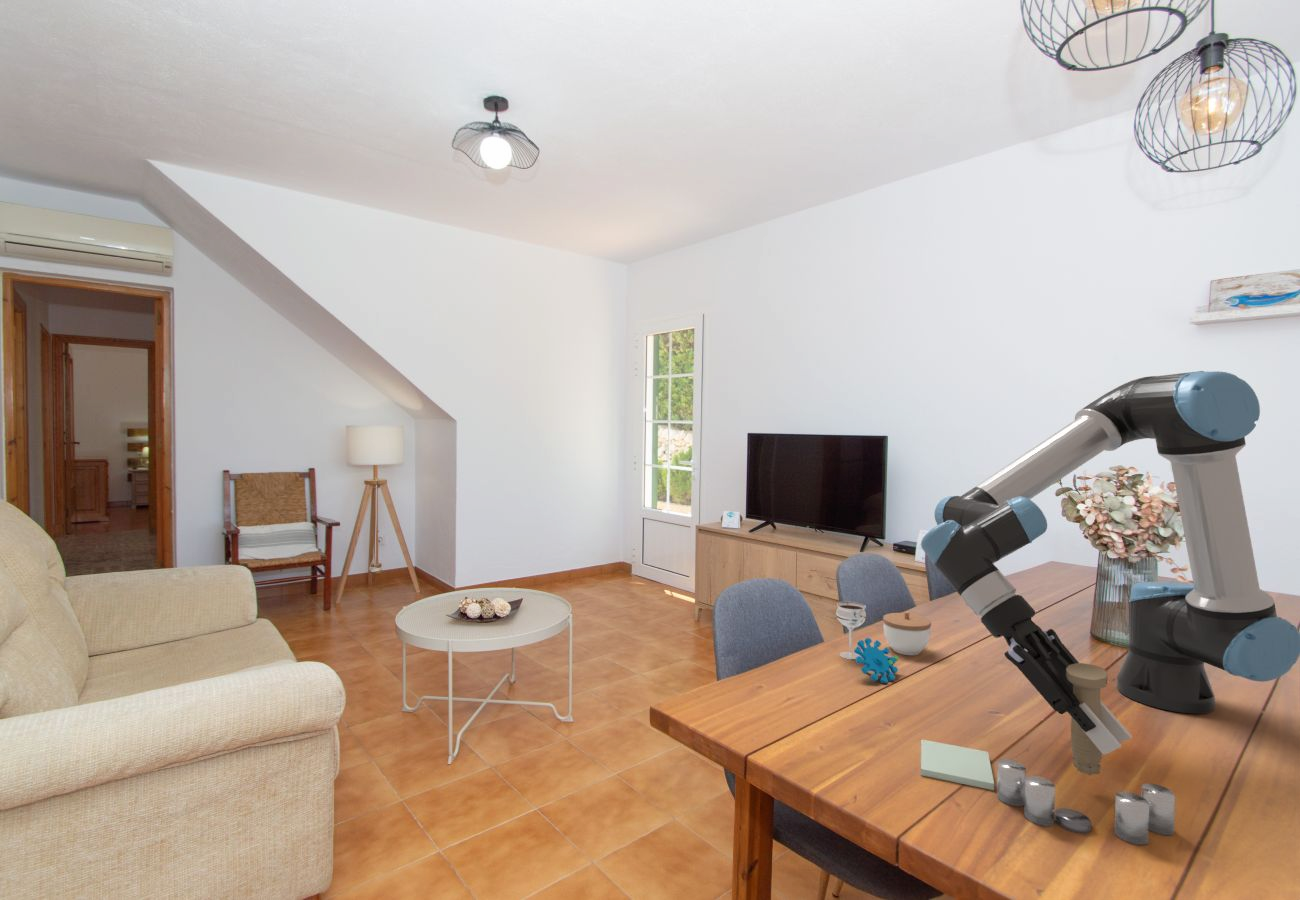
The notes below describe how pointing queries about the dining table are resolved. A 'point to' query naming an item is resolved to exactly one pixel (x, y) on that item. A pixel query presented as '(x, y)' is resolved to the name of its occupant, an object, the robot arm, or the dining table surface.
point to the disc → (1072, 820)
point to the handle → (1088, 691)
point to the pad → (956, 764)
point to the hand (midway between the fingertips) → (1117, 745)
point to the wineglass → (850, 621)
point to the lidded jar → (906, 632)
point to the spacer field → (1130, 809)
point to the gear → (876, 660)
